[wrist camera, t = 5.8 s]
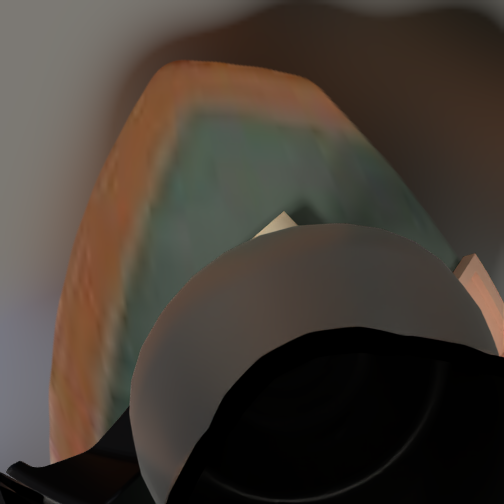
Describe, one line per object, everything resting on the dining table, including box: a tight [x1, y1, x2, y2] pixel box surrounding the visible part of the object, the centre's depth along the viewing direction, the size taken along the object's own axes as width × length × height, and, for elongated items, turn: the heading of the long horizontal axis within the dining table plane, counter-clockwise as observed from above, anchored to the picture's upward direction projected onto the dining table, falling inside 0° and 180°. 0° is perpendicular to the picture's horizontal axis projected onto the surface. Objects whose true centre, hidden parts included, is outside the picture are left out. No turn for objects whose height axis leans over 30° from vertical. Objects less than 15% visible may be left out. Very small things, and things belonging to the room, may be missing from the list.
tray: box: [453, 254, 504, 357], centre depth 20 cm, size 14×14×2 cm
